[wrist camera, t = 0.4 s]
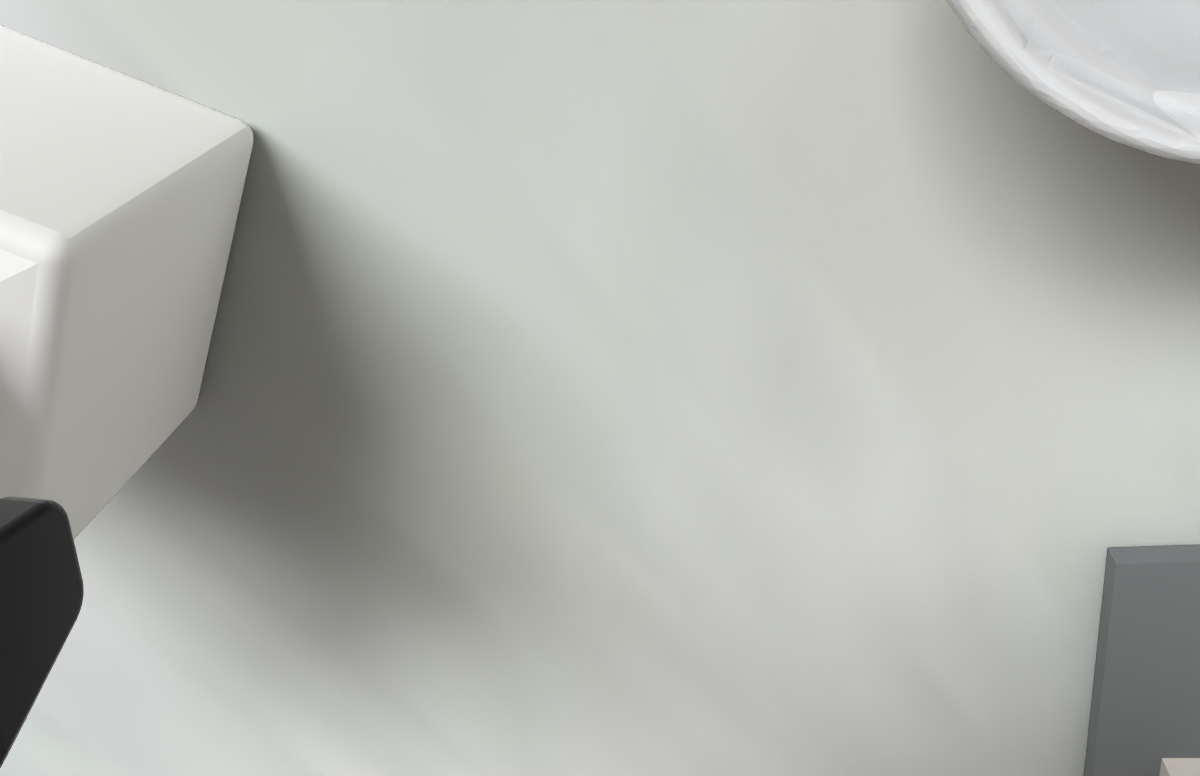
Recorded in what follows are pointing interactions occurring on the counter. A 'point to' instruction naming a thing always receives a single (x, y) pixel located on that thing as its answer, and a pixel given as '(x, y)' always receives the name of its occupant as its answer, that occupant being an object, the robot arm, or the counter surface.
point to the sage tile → (1180, 767)
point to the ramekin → (1103, 64)
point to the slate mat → (1146, 662)
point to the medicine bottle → (104, 268)
